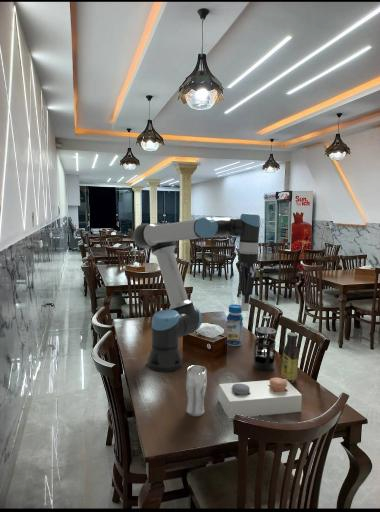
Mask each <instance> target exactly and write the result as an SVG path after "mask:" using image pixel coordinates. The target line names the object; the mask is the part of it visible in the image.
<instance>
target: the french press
mask: <svg viewBox="0 0 380 512" xmlns="http://www.w3.org/2000/svg"><path fill="white" fill-rule="evenodd" d="M261 318H262V319H263V320H265V326H259V327H256V328H255V335H256V336H257V337H256V338H255V339H254V346H253V347H254V349H253V350H254V351H253V364H252V367H253V368H254V369H255V370H257V371H260V372H271V371H274V370H275V356H276V355H275V354H276V353H275V352H276V344H277V343H276V340H275V339H274V338H275V337H276V333H277V330H276V329H275V328H272V327H267V323H268V320H271V319H272V317H271V315H270V316H269V315H262V316H261ZM267 335H271V336H272V337H274V338H270V337H267ZM267 341H268V342H271V343H270V344H269V343H268V344H266V342H267ZM271 348H272V351H271Z"/></svg>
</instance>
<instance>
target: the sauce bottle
mask: <svg viewBox="0 0 380 512" xmlns="http://www.w3.org/2000/svg"><path fill="white" fill-rule="evenodd" d="M298 336H299V335H298V333H296V332H291V331H290V332H287V334H286V337H287V339H286V344H285V345H284V348H283V350H282V356H281V357H282V358H281V359H282V360H281V373H280V378H282V379H286V380H287V381H288V382H289V383H290V384H294V383H296V381H297V378H298V366H299V354H300V352H299V350H300V349H299V348H298V346H297V345H298V344H297V340H298Z"/></svg>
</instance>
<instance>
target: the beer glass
mask: <svg viewBox="0 0 380 512" xmlns="http://www.w3.org/2000/svg"><path fill="white" fill-rule="evenodd" d="M207 370H208V369H207V368H206V367H205V366H202V365H195V364H194V365H191V366H188V367H187V369H186V375H185V387H186V388H185V389H186V395H187V406H186V411H185V412H186V414H187V415H189V416H192V417H200V416H203V415H204V414H205V407H204V402H205V401H204V400H205V396H206V391H207V383H208V379H207V378H208V377H207V376H208V374H207Z"/></svg>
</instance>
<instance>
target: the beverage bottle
mask: <svg viewBox="0 0 380 512" xmlns="http://www.w3.org/2000/svg"><path fill="white" fill-rule="evenodd" d="M242 312H243V311H242V310H241V304H237V303H236V304H235V303H233V304H229V305H228V315H227V317H226V320H227V321H226V333H225V334H226V335H225V338H226V337H227V343H226V344H227V346H232V347H239V346H241V345H242V342H243V341H242V340H243V326H244V323H243V321H244V318H243V315H242Z"/></svg>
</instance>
